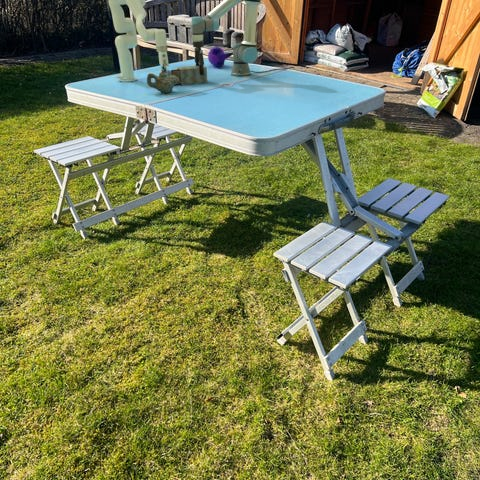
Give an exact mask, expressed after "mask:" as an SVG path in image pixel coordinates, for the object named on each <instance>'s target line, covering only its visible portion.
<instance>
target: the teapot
mask: <svg viewBox="0 0 480 480" xmlns="http://www.w3.org/2000/svg"><path fill="white" fill-rule="evenodd" d="M152 79H154V82H152ZM178 82H179V79H178V77H176V76H175V75H171V76H167V73H166V72H165V70H163V69H162V68H161V72H159V74H158V75H156V74H154V73H148V74H147V76H146V83H147V85H148V87H150V88H153V89H155V90H157V91H158V92H160V93H162V94H170V92H172V91H173V89H174V86H175V85H177V84H179V83H178Z"/></svg>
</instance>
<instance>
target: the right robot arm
mask: <svg viewBox="0 0 480 480" xmlns="http://www.w3.org/2000/svg"><path fill="white" fill-rule="evenodd" d="M261 1H262V0H223V1H222V2H221V3H219V4H218V5H217V6H216V7H214V8H213V9H212V10H211V11H210V12H208V13H207V14H206V15H204V16H192V17H191V19H190V20H191V21H190V22H191V33H192V35H191V37H192V39H191V40H192V47H193V48H194V63H195V66H199V67H200V75H204V68H203V66H205V60H204V52H203V51H204V50H203V49H202V48H203V47H204V45H205V44H204V36H205V35H204V32H215V31H219V29H220V21H219V20H220V19H221V18H222V17H224V16H225V15H226V14H227V13H228V12H229V11H231V10H233V8H235V7H236V6H237V5H238V4H239V3H240V4H241V3H243V2H244V3H245V15H244V26H243V27H244V28H243V39H242V41H241V42H238V43H233V45H232V53H233V55H232V60H233V63H232V68H231V72H230V73H231V76H233V77H246V76H250V75H251V73H254V74H255V73H256V74H260V73H261V74H262V73H268V72H271V71H277V70H290V69H294V70H296V68H295V67H294V66H290V67H283V68H274V69H269V70H263V71H254V70H251V69H250V65H249V64H254V63H255V62H256V61H257V59H258V57H259V52H258V49H257V43H256V32H257V22H258V13H259V12H258V10H259V5H260V4H261Z"/></svg>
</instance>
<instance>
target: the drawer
mask: <svg viewBox="0 0 480 480" xmlns="http://www.w3.org/2000/svg"><path fill="white" fill-rule="evenodd" d="M171 75H175V76H176V77H178V79H179V82H178V83H177V84H180V83H181V73H180V70H179V69H175V68H174V69H167V77H168V76H171Z"/></svg>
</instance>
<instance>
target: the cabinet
mask: <svg viewBox="0 0 480 480" xmlns="http://www.w3.org/2000/svg"><path fill="white" fill-rule="evenodd" d="M176 68H177V69H179V70H180V73H181V83H179V84H180V85H181V86H190V85H201V84H208V69H207V68H208V67H207V66H205V65H203V68H204V75H200V67H199V66H196V65H186V66H177V67H176Z"/></svg>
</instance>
